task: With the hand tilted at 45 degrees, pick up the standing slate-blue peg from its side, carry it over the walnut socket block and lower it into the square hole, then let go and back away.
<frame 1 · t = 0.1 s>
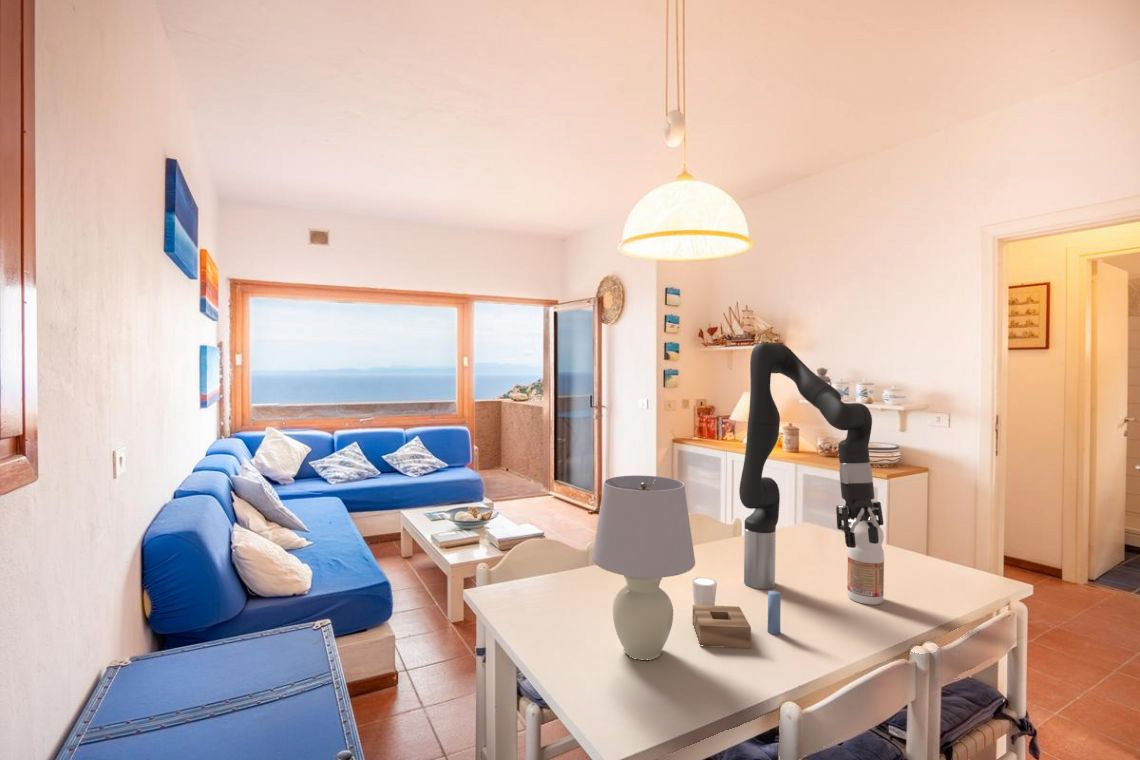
hand: (862, 545, 142), 22 cm above the table, tool pointing down, fingers open, 8 cm apart
peg: (773, 632, 142), on the table
white cup: (704, 606, 158), on the table
hole block: (720, 635, 140), on the table
fruit juice: (865, 599, 164), on the table
lamp: (642, 652, 131), on the table
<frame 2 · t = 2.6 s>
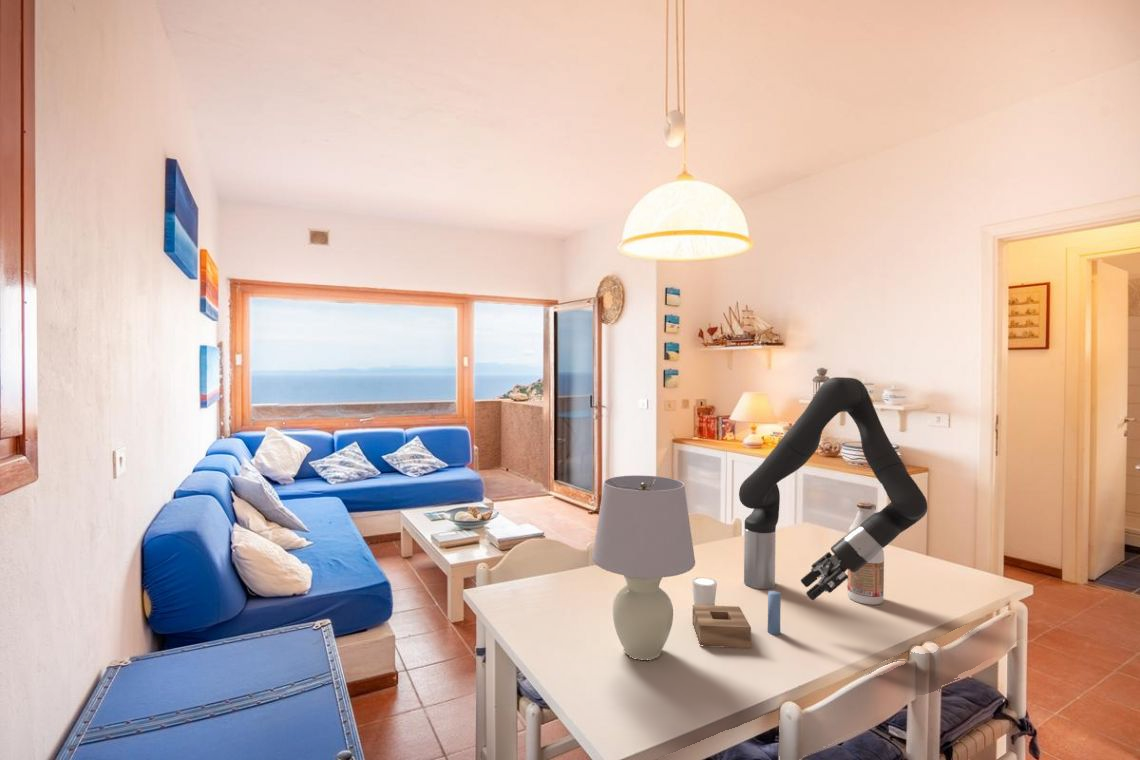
hand: (806, 590, 140), 11 cm above the table, tool tilted 45°, fingers open, 8 cm apart
nothing on the table moved.
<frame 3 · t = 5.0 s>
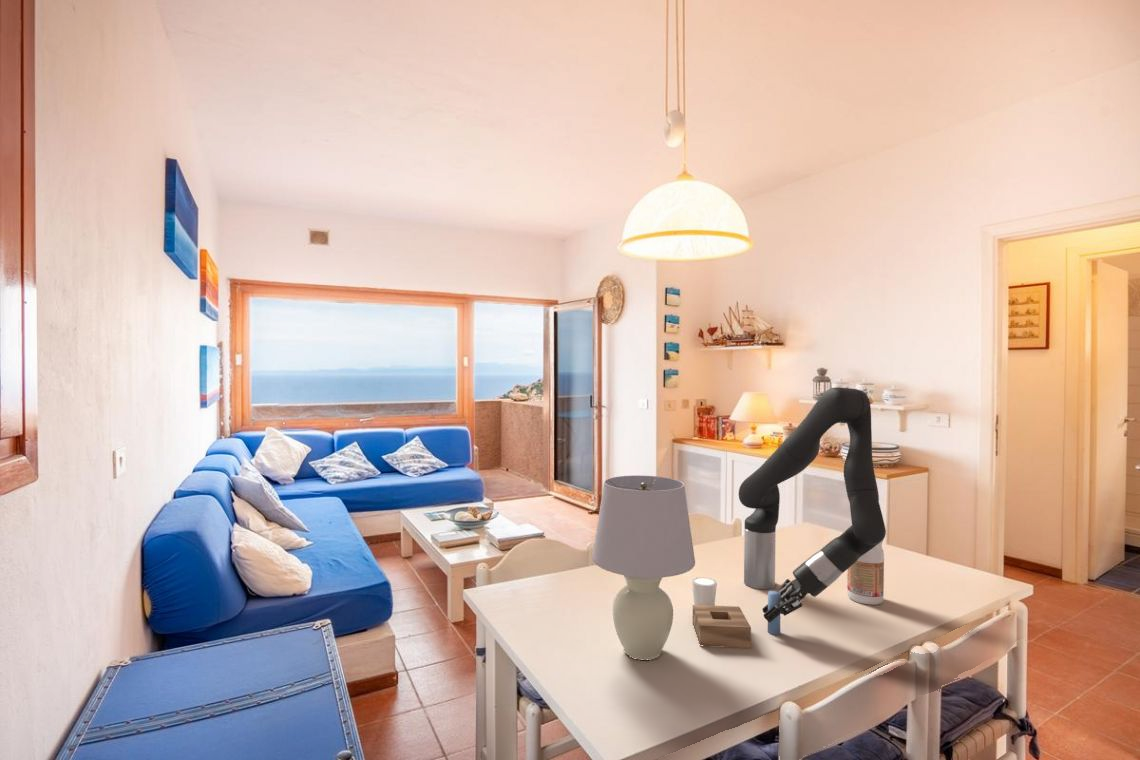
hand: (765, 615, 142), 4 cm above the table, tool tilted 45°, fingers closed on peg, 3 cm apart
peg: (773, 632, 142), on the table, touching gripper
everything else where it was.
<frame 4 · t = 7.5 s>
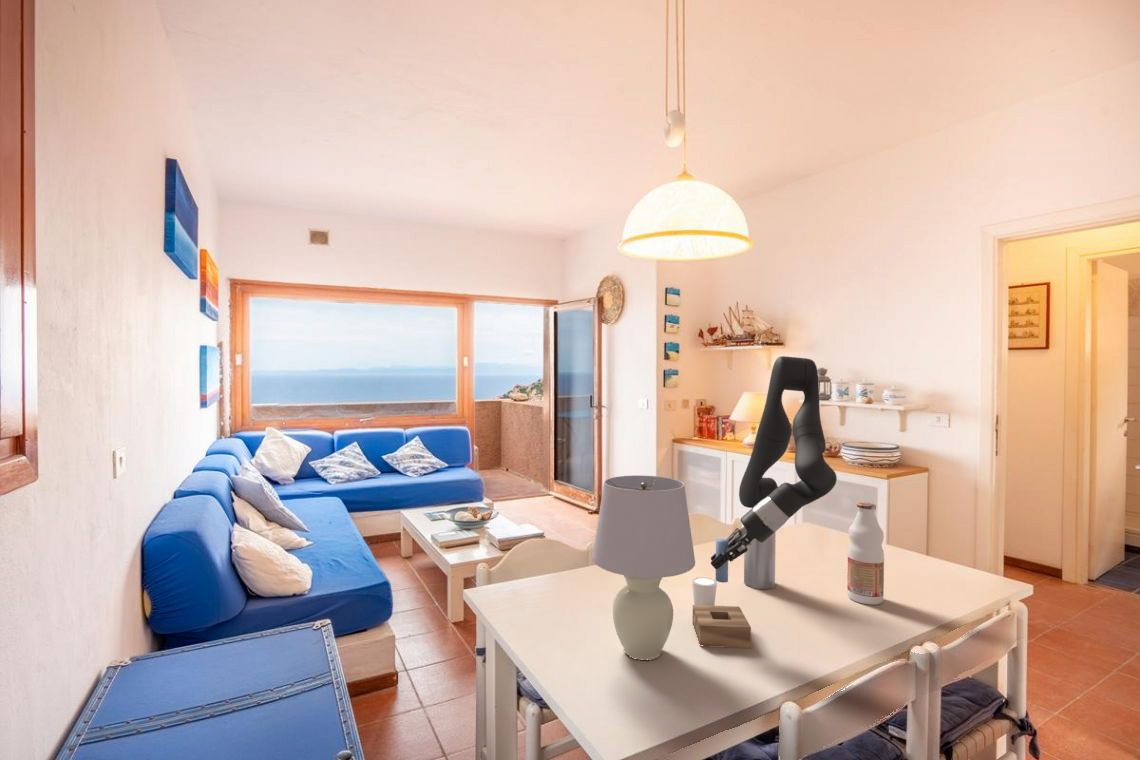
hand: (713, 563, 140), 18 cm above the table, tool tilted 45°, fingers closed on peg, 3 cm apart
peg: (721, 580, 140), point 14 cm above the table, touching gripper
everything else where it was.
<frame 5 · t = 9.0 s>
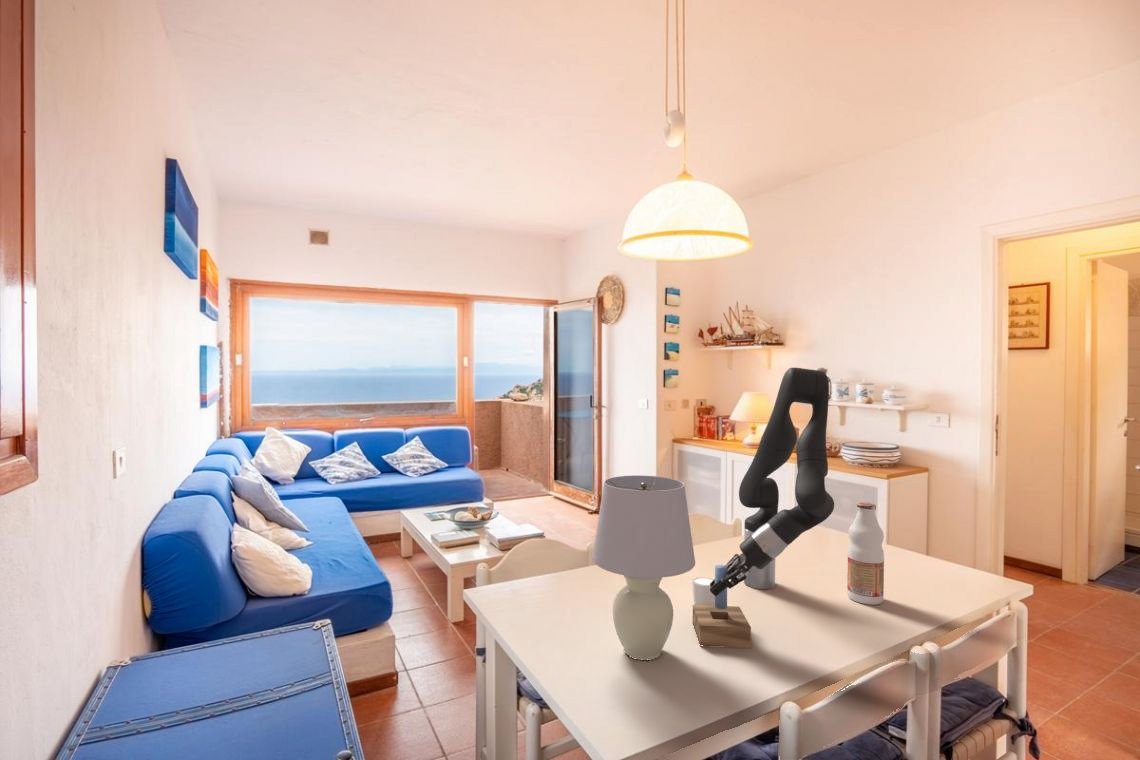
hand: (712, 590, 140), 11 cm above the table, tool tilted 45°, fingers closed on peg, 3 cm apart
peg: (720, 606, 140), point 7 cm above the table, touching gripper
everything else where it was.
when the fingers open (7 cm above the table, at t = 10.2 s): peg drops 3 cm, resting in hole block.
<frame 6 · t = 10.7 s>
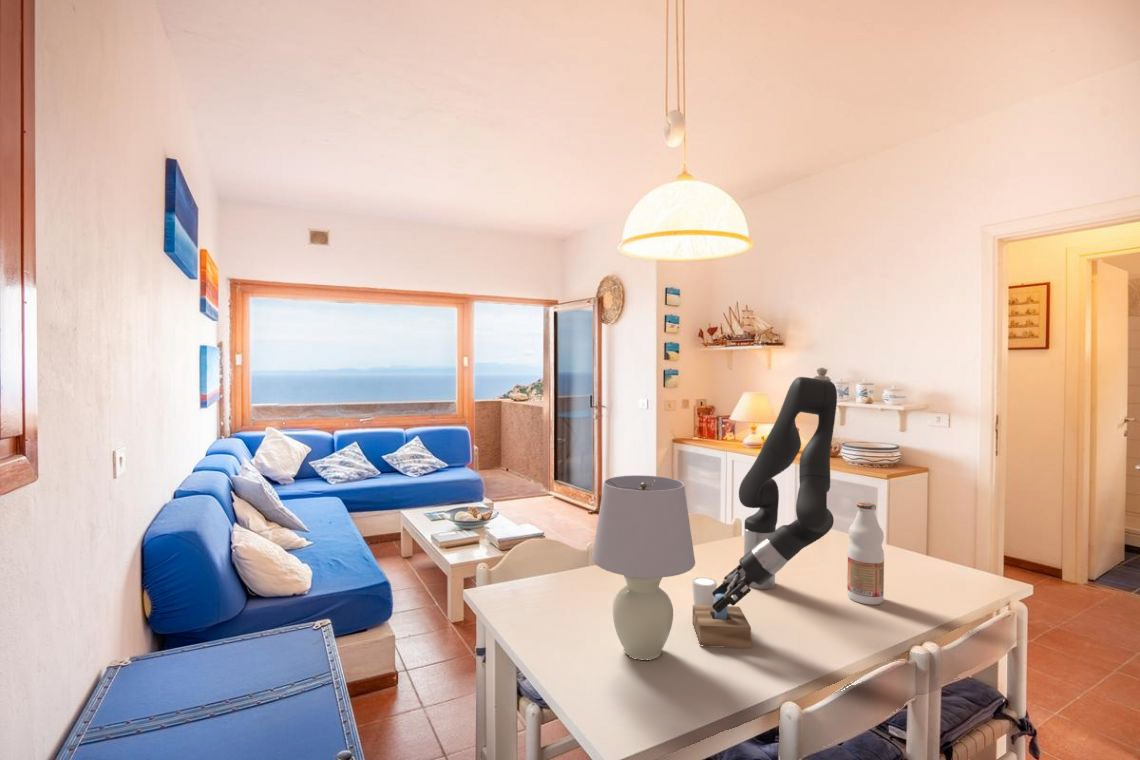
hand: (714, 602, 140), 8 cm above the table, tool tilted 45°, fingers open, 8 cm apart
peg: (720, 635, 140), resting in hole block
everything else where it was.
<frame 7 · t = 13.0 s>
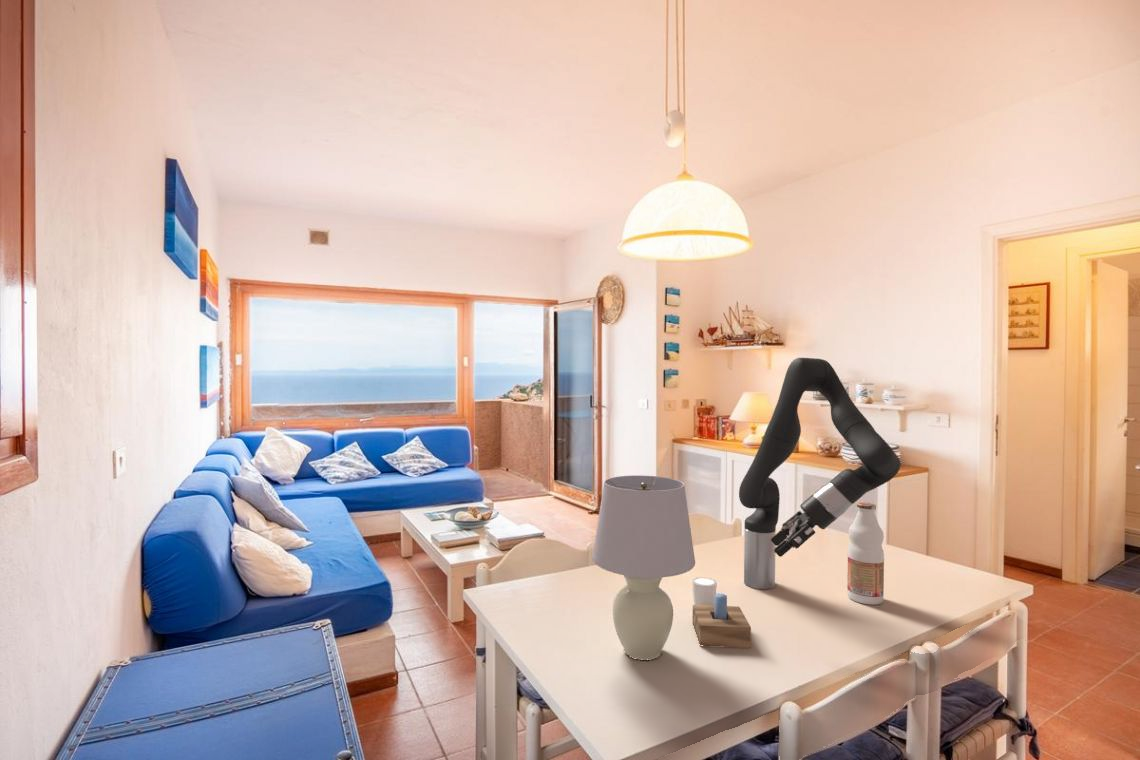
hand: (774, 548, 138), 23 cm above the table, tool tilted 45°, fingers open, 8 cm apart
nothing on the table moved.
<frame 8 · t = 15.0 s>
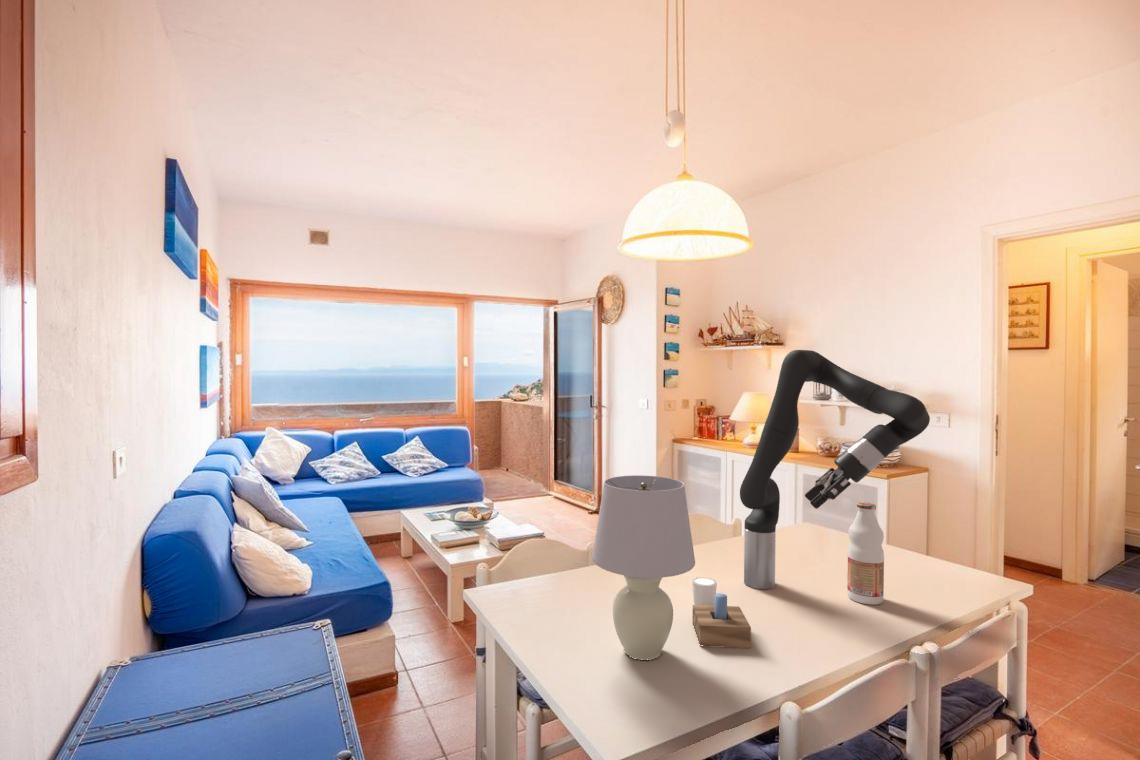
hand: (809, 502, 144), 33 cm above the table, tool tilted 45°, fingers open, 8 cm apart
nothing on the table moved.
at the end: peg 0.1 cm off-centre on the hole block, point 0.0 cm above the hole block's base; peg tilted 0°; the gripper is holding nothing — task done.
